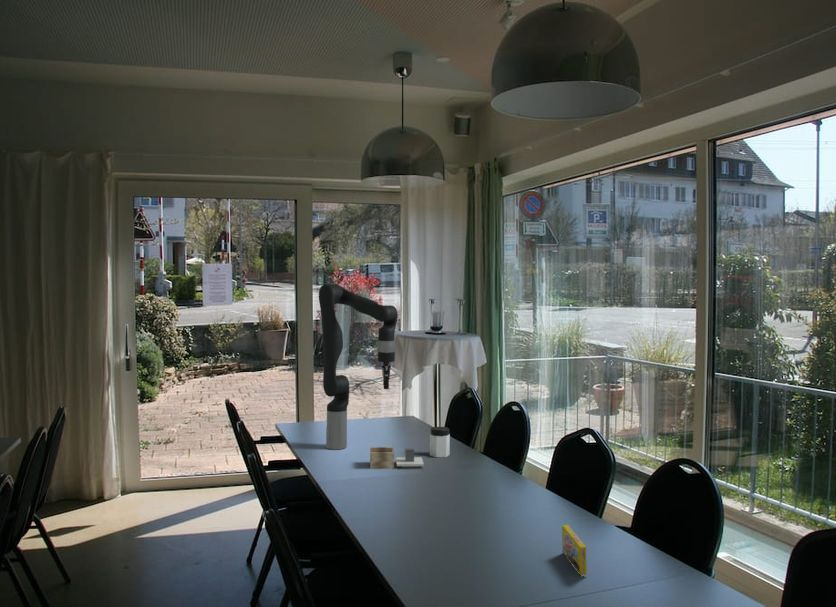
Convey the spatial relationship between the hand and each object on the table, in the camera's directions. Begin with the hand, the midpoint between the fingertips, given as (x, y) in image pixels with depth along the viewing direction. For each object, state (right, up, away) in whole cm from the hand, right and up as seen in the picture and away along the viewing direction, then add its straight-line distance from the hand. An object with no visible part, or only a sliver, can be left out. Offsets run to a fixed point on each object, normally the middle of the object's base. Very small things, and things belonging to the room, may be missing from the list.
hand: (385, 387), depth 306 cm
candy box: (+57, -35, -116) cm, 134 cm away
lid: (+11, -30, -17) cm, 36 cm away
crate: (-1, -31, -18) cm, 36 cm away
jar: (+24, -31, +2) cm, 39 cm away
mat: (+11, -31, -17) cm, 37 cm away
